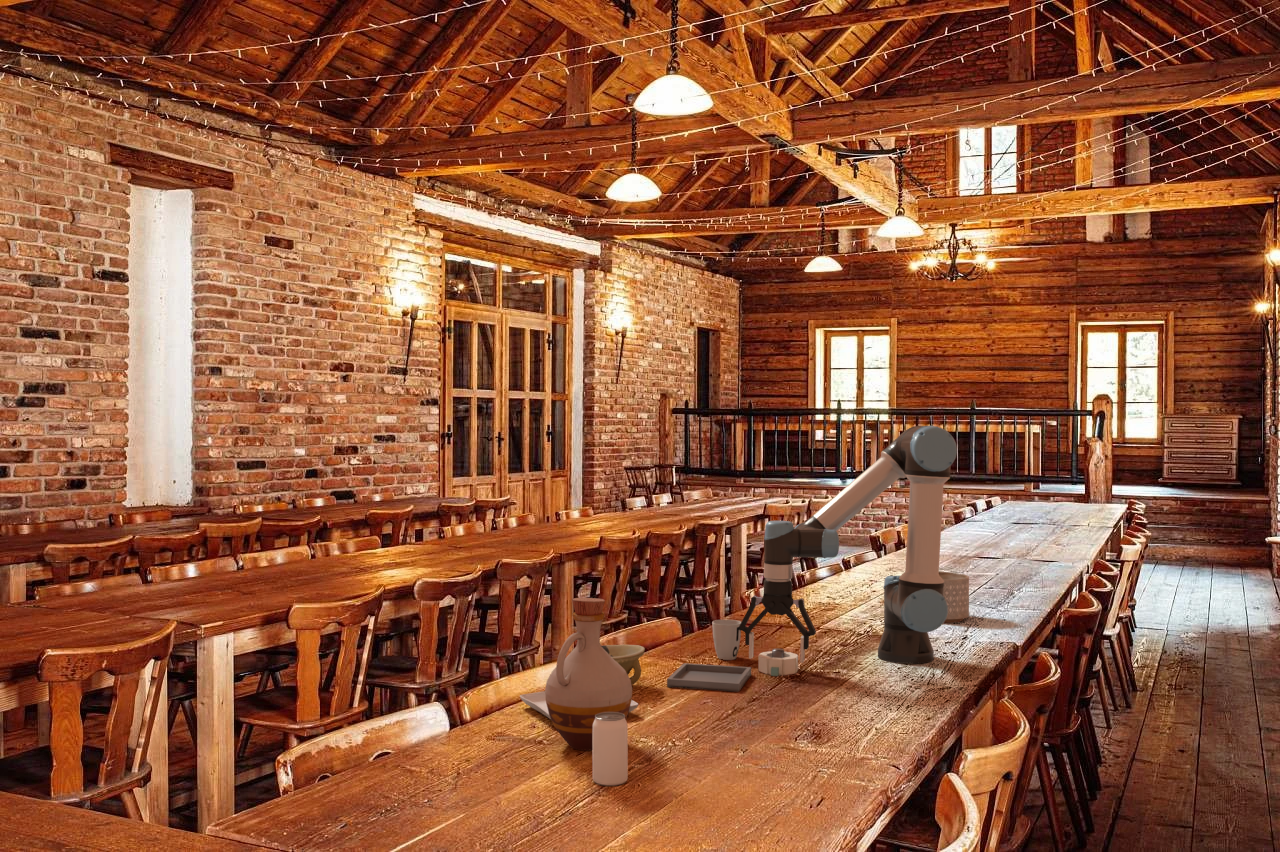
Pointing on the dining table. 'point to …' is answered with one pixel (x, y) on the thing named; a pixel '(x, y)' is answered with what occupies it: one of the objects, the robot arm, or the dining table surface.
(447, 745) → the dining table surface
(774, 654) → the capsule
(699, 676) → the tray
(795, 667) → the ring
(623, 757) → the can
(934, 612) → the robot arm
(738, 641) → the cup
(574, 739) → the jug
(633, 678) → the bowl
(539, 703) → the salad plate
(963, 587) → the planter
